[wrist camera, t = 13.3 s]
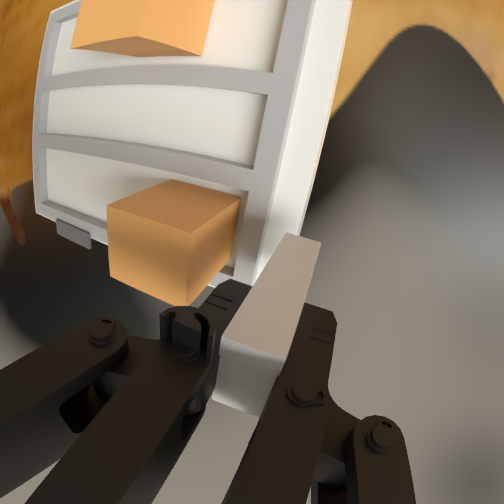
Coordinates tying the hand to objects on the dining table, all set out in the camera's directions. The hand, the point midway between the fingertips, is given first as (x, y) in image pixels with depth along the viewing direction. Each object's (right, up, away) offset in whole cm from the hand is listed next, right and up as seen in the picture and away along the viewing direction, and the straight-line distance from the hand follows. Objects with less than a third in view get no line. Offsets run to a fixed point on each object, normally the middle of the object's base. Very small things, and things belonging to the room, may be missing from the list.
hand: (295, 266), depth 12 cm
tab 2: (-4, +2, +3) cm, 6 cm away
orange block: (-6, +12, -1) cm, 13 cm away
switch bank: (-9, +9, +3) cm, 13 cm away
